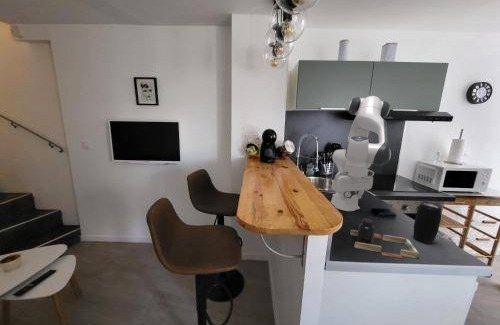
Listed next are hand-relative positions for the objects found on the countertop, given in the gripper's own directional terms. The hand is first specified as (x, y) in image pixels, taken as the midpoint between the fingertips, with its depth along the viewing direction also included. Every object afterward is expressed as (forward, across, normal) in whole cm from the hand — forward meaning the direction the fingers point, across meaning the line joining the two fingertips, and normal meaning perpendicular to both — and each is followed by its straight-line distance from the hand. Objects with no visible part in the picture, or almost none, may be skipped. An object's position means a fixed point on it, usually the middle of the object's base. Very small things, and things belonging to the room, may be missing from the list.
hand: (350, 199), depth 101 cm
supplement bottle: (+22, +8, -5) cm, 24 cm away
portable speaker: (+21, +39, -10) cm, 46 cm away
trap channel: (+22, +14, -8) cm, 27 cm away
